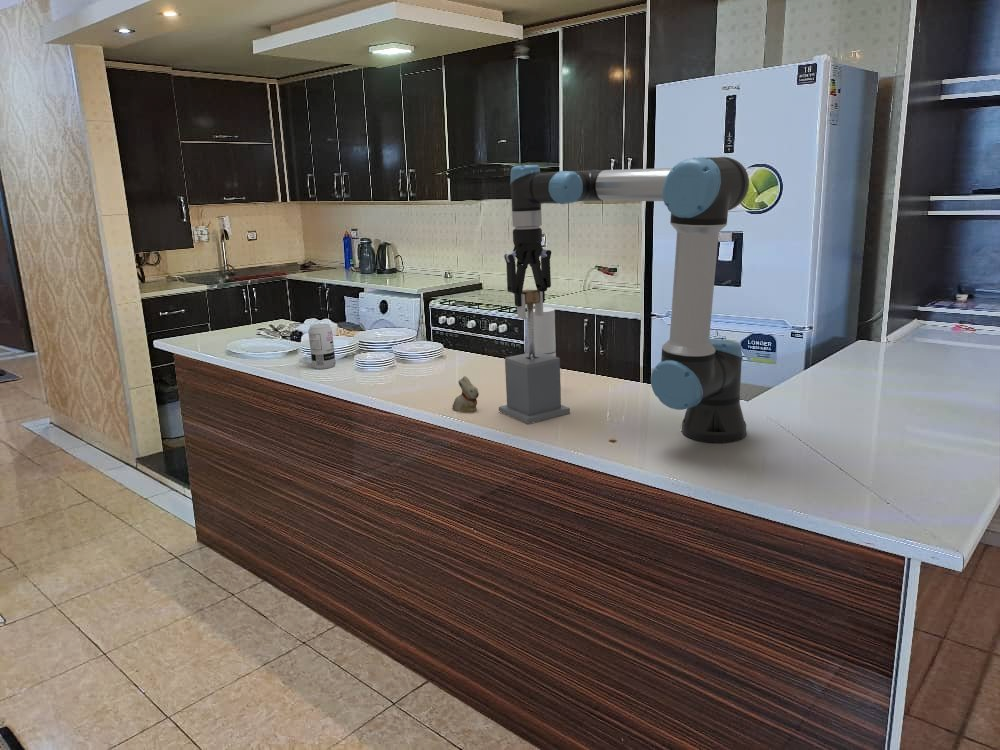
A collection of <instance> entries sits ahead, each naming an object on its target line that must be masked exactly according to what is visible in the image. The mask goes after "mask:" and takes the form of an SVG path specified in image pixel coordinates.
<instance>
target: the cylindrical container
mask: <svg viewBox="0 0 1000 750" xmlns="http://www.w3.org/2000/svg"><path fill="white" fill-rule="evenodd" d="M555 312H556V310H555V308H553V307H543V316H537V315H535V308H533V316H534V344H535V352H536V351H537V352H540V353H544V354H547V355H551V356H555V357H557V351H556V350H557V349H556V346H557V345H556V318H555V317H556V313H555Z"/></svg>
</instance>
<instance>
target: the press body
mask: <svg viewBox="0 0 1000 750" xmlns="http://www.w3.org/2000/svg"><path fill="white" fill-rule="evenodd" d="M560 361H561V358H560V357H558V356H556V357H555V356H551V355H547V354H544V353H540V352H537V351H536V352H535V359H532V360H530V359H529V352H526V353H522V354H521V353H520V354H516V355H510V356H508V357H504V365H505V366H504V367H505V369H504V370H505V372H504V373H505V386H506V387H505V390H506V391H505V392H506V405H505V404H504V405H500V406H498V412H499V411H500V412H502V413H501V414H503V413H505V414H507V415H509V416H508V417H510V416H511V417H510V418H512V417H514V418H516V419H515V420H517V419H518V420H517V421H519V420H520V421H519V422H521V421H522V422H521V423H524V424H526V423H527V424H526V425H531V424H534V423H533V422H535V423H538V422H537V421H539V422H542V421H541V420H543V421H545V419H547V420H550V419H554V418H557V417H562V416H564V415H569V414H571V407H568V406H565V405H562V397H561V394H562V393H561V390H562V389H561V362H560ZM500 412H499V413H500ZM505 414H504V415H505ZM507 415H506V416H507ZM514 418H513V419H514ZM530 423H531V424H530Z"/></svg>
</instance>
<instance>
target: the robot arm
mask: <svg viewBox="0 0 1000 750" xmlns="http://www.w3.org/2000/svg"><path fill="white" fill-rule="evenodd" d="M509 185H510V196H511V216H512V217H511V218H512V221H511V222H512V227H513V228H514V229H513V230H512V241H513V250H512V252H510V253H508V254H507V253H505V254H504V256H503V257H504V261H505V263H506V283H507V285H506V286H507V288H506V290H507V292H508V293H511V294H513V295H514V306H515V307H517V308H516V311H517V312H516V313H517V319H521V320H526V319H527V318H526V317H527V315H526V312H527V310H526V304H525V294H522V291H523V290H524V283H525V277H526V272H527V269H528V267H529V266H530V268H531V271H532V276H533V279H534V284H535V287H536V288H535V289H536V290H539V303H536V304H534V309H535V315H537V316H543V308H544V303H545V302H546V299H545V298H546V297H545V296H546V295H545V294H546V293H545V292H547V291H548V288H551V286H552V281H551V280H552V278H551V277H552V276H551V260H550V259H551V257H552V250H551V249H545V248H543V245H542V242H543V229H542V228H541V226H542V225H543V221H542V219H543V218H542V205H544V204H554V205H555V204H556V205H557V204H560V205H564V204H566V205H567V204H573V203H577V202H578V203H579V202H597V201H598V202H603V201H605V202H606V201H609V202H610V201H611V202H613V201H614V202H615V201H616V202H618V201H619V202H620V201H621V202H663V204H664V206H665V207H667V210H668V211H669V212H670V223H669V224H670V225H671V227H673V229H675V231H676V241H675V242H676V243H675V255H674V257H675V259H674V272H673V286H672V297H671V313H670V314H671V317H670V328H669V329H670V330H669V339H668V340H667V341H666V342H665V343H663V344H662V347H661V355H660V356H661V358H660V362H659V363H657V364H656V366H655V367H654V368H653V370H652V372H651V375H650V387H651V388H652V391H653V394H654V395H655V397H657V399H658V400H659V402H660V403H662V405H664V406H666V407H667V408H670V409H673V410H675V411H676V410H677V411H678V410H679V411H682V410H686V411H685V414H684V418H683V419H682V422H681V433H682V434H683V435H684V436H685V437H687V438H690V439H692V440H695V441H700V442H705V443H718V444H719V443H731V442H736V441H739V440H742V439H744V438H745V437H746V435H747V423H746V421H745V419H744V414H743V411H742V407H741V383H742V382H741V381H742V379H741V377H742V360H743V356H742V346H741V345H740V343H739V342H736V341H731V340H727V339H726V340H724V339H715V338H710V337H711V336H710V335H711V323H712V312H713V311H712V310H713V301H714V300H713V299H714V287H715V279H716V278H715V277H716V266H717V254H718V243H719V235H720V231H722V230H723V229H724V228H725V227H727V225H728V218H729V217H728V216H729V211H731V210H733V209H735V208H736V207H738V206H739V205H740V204H742V202H743V201H744V200H745V198H746V197H747V194H748V192H749V188H750V178H749V172H747V170H746V168H745V166H744V165H743V164H742V163H741V162H740V161H738V160H736V159H735V158H731V157H727V156H719V157H714V156H713V157H712V156H711V157H710V156H709V157H704V156H699V157H692V158H689V159H688V158H687V159H684V160H682V161H680V162H678V163H677V164H675V165H674V166H673V167H667V168H665V167H664V168H663V167H662V168H658V167H657V168H629V169H628V168H627V169H604V170H602V169H599V170H598V169H589V170H575V171H572V170H570V171H568V170H561V171H552V172H551V171H550V172H541V168H540V165H537V164H528V165H527V164H526V165H515V166H514V165H513V166H512V168H511V169H510V182H509Z"/></svg>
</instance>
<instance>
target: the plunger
mask: <svg viewBox="0 0 1000 750" xmlns="http://www.w3.org/2000/svg"><path fill="white" fill-rule="evenodd" d="M522 294H525V305H526V312H527V315H526V317H527V337H528V338H527V339H528V353H529V359H530V360H532V359H535V344H534V316H533V309H534V305H535V304H536V303H539V290H537V289H523V290H522Z"/></svg>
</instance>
